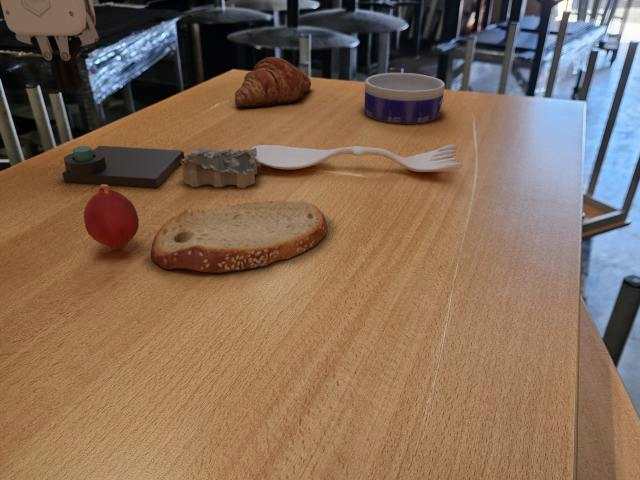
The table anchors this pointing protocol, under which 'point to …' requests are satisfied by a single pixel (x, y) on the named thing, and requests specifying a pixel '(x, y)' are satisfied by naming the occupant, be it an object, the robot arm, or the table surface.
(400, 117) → the dog bowl
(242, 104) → the pastry
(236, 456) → the table surface
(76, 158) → the button
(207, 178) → the egg carton
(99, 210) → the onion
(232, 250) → the bread slice
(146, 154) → the scale
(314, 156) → the white plastic spork
